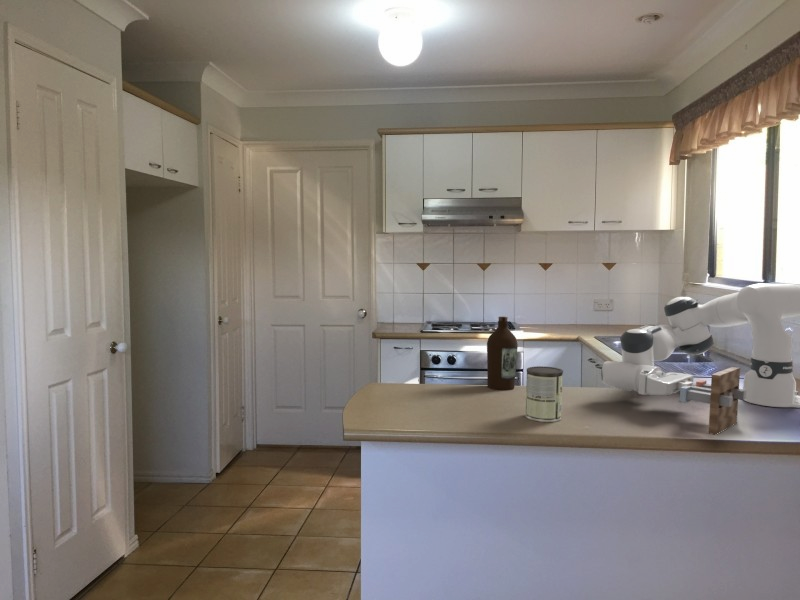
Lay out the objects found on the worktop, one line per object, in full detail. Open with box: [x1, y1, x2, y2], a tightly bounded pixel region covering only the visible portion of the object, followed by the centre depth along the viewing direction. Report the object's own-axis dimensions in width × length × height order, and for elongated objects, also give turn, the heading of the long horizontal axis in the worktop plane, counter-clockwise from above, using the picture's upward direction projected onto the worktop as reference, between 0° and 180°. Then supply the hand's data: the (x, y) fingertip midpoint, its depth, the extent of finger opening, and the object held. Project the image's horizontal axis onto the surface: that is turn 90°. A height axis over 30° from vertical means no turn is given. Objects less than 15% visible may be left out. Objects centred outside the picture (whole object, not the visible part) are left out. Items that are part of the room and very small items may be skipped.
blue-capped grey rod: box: [679, 386, 733, 407], centre depth 173 cm, size 4×12×4 cm, turn 45°
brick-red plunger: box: [695, 379, 746, 401], centre depth 181 cm, size 4×12×4 cm, turn 45°
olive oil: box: [486, 316, 519, 391], centre depth 222 cm, size 11×11×25 cm
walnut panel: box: [708, 366, 741, 435], centre depth 175 cm, size 17×2×16 cm, turn 135°
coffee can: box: [525, 365, 564, 423], centre depth 183 cm, size 10×10×14 cm
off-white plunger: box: [682, 382, 732, 396], centre depth 178 cm, size 4×12×4 cm, turn 45°
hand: (698, 387), depth 186 cm, fingers closed, pressing on brick-red plunger
